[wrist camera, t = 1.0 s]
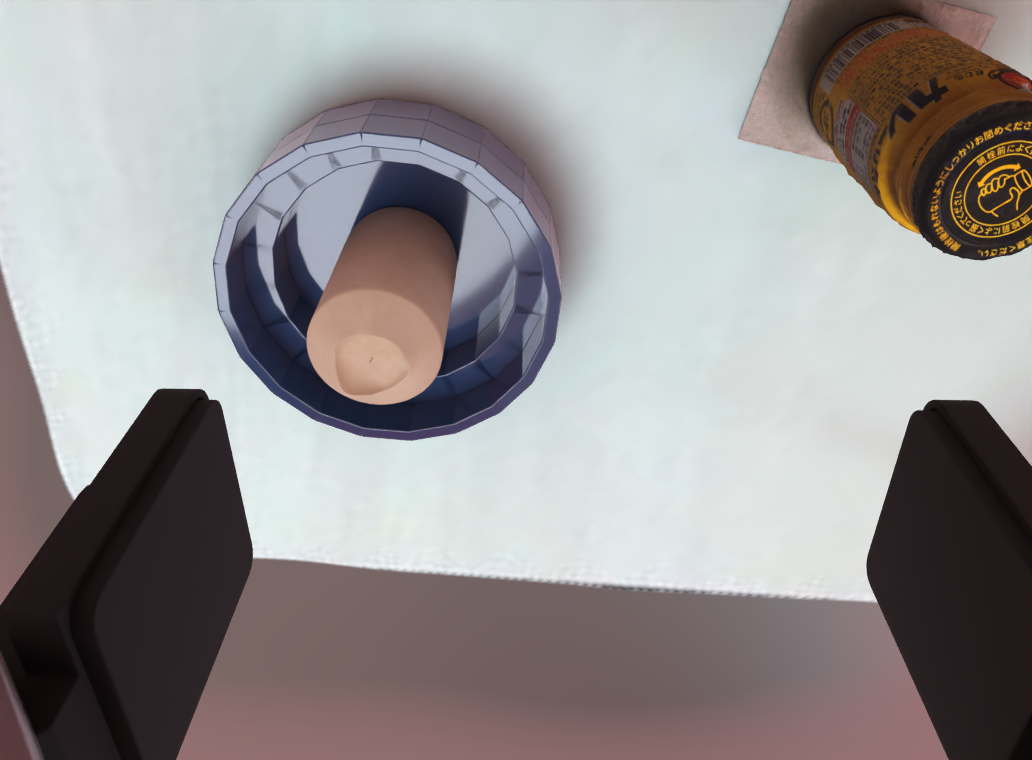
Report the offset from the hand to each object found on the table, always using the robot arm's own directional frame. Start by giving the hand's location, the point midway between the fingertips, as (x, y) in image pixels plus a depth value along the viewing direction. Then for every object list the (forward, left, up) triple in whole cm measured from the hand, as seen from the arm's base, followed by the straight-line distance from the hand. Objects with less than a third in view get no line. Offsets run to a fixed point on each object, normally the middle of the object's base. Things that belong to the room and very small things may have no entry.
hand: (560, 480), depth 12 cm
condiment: (+9, +11, -29) cm, 32 cm away
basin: (+6, -11, -29) cm, 32 cm away
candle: (+6, -11, -29) cm, 31 cm away
